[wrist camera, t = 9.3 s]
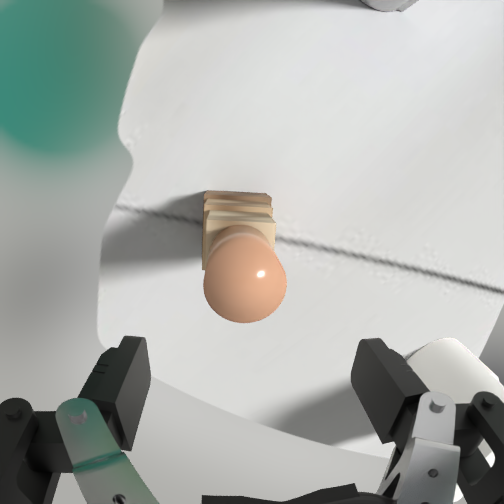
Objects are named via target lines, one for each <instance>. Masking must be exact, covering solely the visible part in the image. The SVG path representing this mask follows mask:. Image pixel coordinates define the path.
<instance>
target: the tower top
mask: <svg viewBox="0 0 504 504" xmlns="http://www.w3.org/2000/svg"><path fill="white" fill-rule="evenodd" d="M233 225H248V226H252V227H254V228H256V229H258V230H259V231H261V232H262V233H263V234H264V235H265V237H266V238H267V240H268V241H269V243H270V245H271V247H272V248H273V250H274V244H275V233H276V222H275V221H274V220H273V219H272V218H271V216H270V215H269V214H268V213H263V212H245V211H226V210H210V212H209V215H208V218H207V226H206V256H205V271H206V266H207V260H208V255H209V250H210V246H211V243H212V241H213V240H214V238H215V237H216V236H217V234H218V233H220V232H221V231H222V230H224V229H225V228H227V227H230V226H233Z"/></svg>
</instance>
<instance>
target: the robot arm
mask: <svg viewBox="0 0 504 504" xmlns="http://www.w3.org/2000/svg"><path fill="white" fill-rule="evenodd" d="M361 1H362V2H363V3H365V4H367V5H368V6H370V7H372V8H374V9H377V10H380V11H386V12H389V11H395V10H400V11H404V10H406V9H407V8H409V7H410V6H411V5H413V4H414V3H416V2H417V1H418V0H361ZM150 381H151V371H150V364H149V358H148V351H147V343H146V339H145V338H144V337H136V336H124V337H123V339H122V341H121V343H120V345H119V347H118V348H114V347H111V348H109V349H108V350H107V351H105V352H104V353H103V354H101V356H100V358H99V360H98V361H97V364H96V365H95V367H94V368H93V370H92V372H91V374H90V376H89V377H88V379H87V381H86V383H85V385H84V386H83V388H82V390H81V392H80V394H79V396H78V397H77V398H73V399H70V400H67V401H65V402H63V403H62V404H61V405H60V406H59V407H58V409H57V410H56V411H33V409H32V407H31V405H30V403H29V402H28V401H26V400H24V399H22V398H11V399H7V400H6V401H4V402H2V403H1V404H0V504H52V501H53V497H54V494H55V491H56V487H57V484H58V481H59V477H60V474H61V473H73V474H74V476H75V479H76V481H77V483H78V485H79V487H80V490H81V492H82V494H83V496H84V498H85V500H86V502H87V504H159V502H158V501H157V500H156V498H155V497H154V496H153V494H152V493H151V492H150V490H149V489H148V487H147V486H146V485H145V483H144V482H143V480H142V479H141V477H140V476H139V474H138V473H137V471H136V470H135V468H134V467H133V465H132V464H131V462H130V460H129V459H128V457H127V456H126V454H125V453H124V452H122V451H121V450H126V451H131V450H132V446H133V442H134V439H135V435H136V432H137V428H138V425H139V421H140V418H141V414H142V410H143V407H144V404H145V400H146V397H147V394H148V390H149V387H150ZM351 383H352V386H353V388H354V390H355V392H356V394H357V396H358V397H359V399H360V401H361V403H362V405H363V407H364V409H365V411H366V413H367V415H368V417H369V419H370V421H371V423H372V425H373V427H374V429H375V430H376V432H377V434H378V436H379V438H380V440H381V442H382V444H385V443H389V442H393V441H394V442H395V444H396V446H395V447H394V449H393V451H392V454H391V457H390V460H389V463H388V466H387V469H386V471H385V474H384V477H383V479H382V482H381V484H380V486H379V489H378V490H377V492H376V494H373V493H367V492H358V491H357V489H356V486H355V483H353V484H348V485H343V486H338V487H333V488H326V489H320V490H317V491H315V492H312V493H309V494H306V495H303V496H301V497H298V498H295V499H291V500H288V501H284V502H277V501H270V500H262V499H256V498H250V497H244V496H208V495H202V504H453V500H454V495H455V489H456V483H457V484H458V486H459V488H460V490H461V492H462V494H463V496H464V498H465V500H466V502H467V504H504V403H503V402H502V401H501V399H500V398H499V397H498V396H496V395H495V394H493V393H490V392H487V391H481V392H478V393H476V394H475V395H474V397H473V399H472V400H471V402H470V403H460V404H455V403H454V401H453V400H452V399H451V398H450V397H449V396H448V395H446V394H444V393H441V392H437V391H430V390H429V389H428V388H427V387H426V385H425V384H424V383H423V382H422V380H421V379H420V378H419V377H418V375H417V374H416V373H415V372H414V371H413V369H412V368H411V367H410V365H408V363H407V362H406V360H405V359H404V358H403V357H402V356H401V355H400V354H398V353H397V352H395V351H394V350H392V349H389V348H388V347H387V346H386V344H385V343H384V342H383V341H382V339H380V338H372V339H362V340H361V341H360V342H359V345H358V348H357V352H356V356H355V360H354V363H353V367H352V371H351ZM483 439H485V441H486V442H487V444H488V445H489V447H490V448H491V450H492V451H493V453H494V456H495V461H494V464H493V466H492V467H490V465H489V463H488V462H487V460H486V459H485V457H484V456H483V454H482V453H481V451H480V449H479V448H478V446H479V445H480V444H481V442H482V441H483Z"/></svg>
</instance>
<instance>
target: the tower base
mask: <svg viewBox="0 0 504 504" xmlns="http://www.w3.org/2000/svg"><path fill="white" fill-rule="evenodd" d="M208 198H210V199H230V200H248V201H263V202H267V203H268V204H269V205H270V206H271V200H272V198H271V197H270V196H269V195H267V194H266V193H250V192H231V191H208V190H207V191H206V192H205V194H204V204H205V202H206V201H207V199H208ZM203 224H204V206H203ZM202 253H203V236H202Z"/></svg>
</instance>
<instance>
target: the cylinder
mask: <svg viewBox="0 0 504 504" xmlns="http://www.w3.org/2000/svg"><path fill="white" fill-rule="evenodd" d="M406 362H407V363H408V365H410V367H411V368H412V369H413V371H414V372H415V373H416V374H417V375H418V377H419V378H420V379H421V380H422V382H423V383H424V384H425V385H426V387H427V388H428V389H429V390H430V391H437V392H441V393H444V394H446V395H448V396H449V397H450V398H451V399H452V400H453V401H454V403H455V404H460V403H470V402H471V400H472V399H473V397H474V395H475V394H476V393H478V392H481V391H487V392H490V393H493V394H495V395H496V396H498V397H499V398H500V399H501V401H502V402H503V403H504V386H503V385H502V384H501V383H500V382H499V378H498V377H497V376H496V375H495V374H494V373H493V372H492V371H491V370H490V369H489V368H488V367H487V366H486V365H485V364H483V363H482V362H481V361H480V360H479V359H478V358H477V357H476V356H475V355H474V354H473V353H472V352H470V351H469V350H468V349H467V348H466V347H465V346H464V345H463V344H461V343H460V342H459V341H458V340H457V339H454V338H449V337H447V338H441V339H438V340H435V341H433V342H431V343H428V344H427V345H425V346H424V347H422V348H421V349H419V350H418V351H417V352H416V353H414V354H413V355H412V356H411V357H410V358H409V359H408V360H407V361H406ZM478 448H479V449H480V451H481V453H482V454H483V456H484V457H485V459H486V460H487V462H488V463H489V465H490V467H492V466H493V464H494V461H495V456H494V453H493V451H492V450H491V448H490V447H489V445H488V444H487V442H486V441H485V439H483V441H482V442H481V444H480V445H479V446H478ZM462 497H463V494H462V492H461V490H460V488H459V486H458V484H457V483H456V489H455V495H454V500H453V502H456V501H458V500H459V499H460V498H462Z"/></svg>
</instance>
